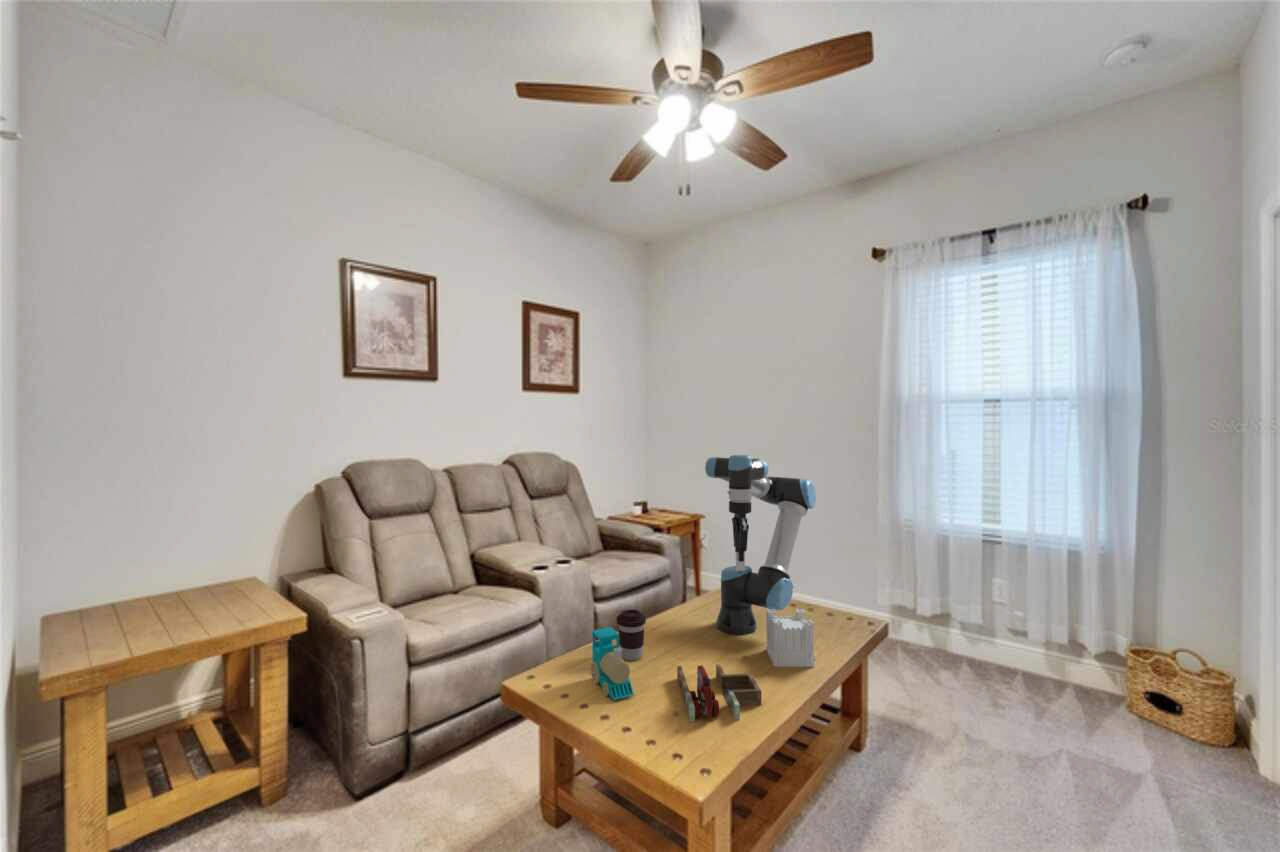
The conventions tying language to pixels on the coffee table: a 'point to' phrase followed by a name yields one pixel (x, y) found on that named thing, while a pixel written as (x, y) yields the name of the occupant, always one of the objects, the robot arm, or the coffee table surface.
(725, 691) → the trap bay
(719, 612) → the robot arm
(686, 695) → the channel
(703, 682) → the toy fire truck
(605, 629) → the toy train
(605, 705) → the coffee table surface
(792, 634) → the castle model
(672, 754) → the coffee table surface
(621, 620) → the coffee cup
